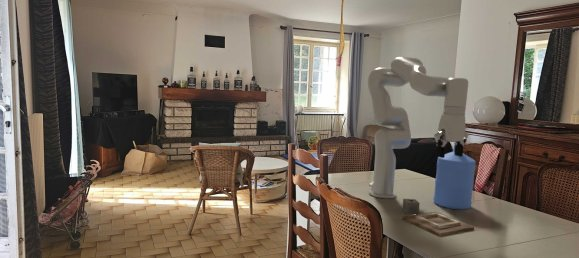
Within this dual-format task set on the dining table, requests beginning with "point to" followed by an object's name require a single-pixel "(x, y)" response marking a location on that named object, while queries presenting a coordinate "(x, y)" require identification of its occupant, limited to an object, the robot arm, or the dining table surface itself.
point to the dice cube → (410, 206)
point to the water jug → (454, 181)
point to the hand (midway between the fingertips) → (449, 156)
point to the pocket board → (438, 223)
